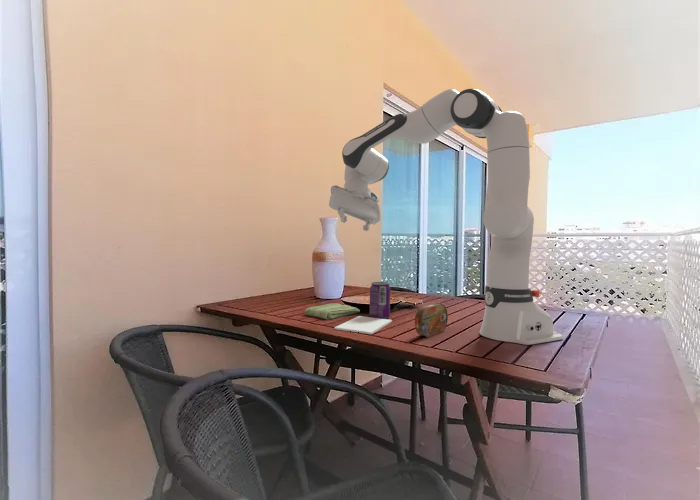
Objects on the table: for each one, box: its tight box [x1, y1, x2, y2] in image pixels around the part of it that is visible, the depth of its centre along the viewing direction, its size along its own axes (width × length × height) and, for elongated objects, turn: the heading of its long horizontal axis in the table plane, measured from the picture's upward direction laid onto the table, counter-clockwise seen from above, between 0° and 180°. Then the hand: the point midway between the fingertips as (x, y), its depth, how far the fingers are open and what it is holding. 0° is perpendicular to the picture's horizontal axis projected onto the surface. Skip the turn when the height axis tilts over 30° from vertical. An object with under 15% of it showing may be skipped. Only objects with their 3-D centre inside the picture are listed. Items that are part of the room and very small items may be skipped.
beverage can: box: [368, 281, 391, 319], centre depth 130 cm, size 7×7×12 cm
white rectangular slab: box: [334, 315, 393, 335], centre depth 118 cm, size 18×12×1 cm, turn 155°
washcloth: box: [303, 302, 361, 320], centre depth 135 cm, size 13×18×3 cm
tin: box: [414, 303, 449, 338], centre depth 110 cm, size 15×3×8 cm, turn 137°
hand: (355, 225), depth 130 cm, fingers open, 8 cm apart
